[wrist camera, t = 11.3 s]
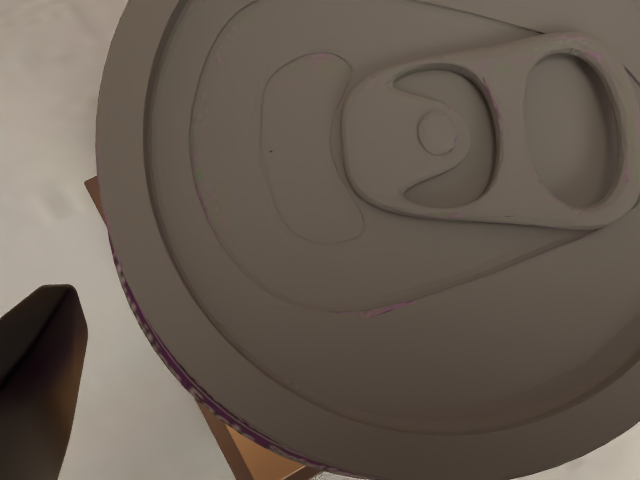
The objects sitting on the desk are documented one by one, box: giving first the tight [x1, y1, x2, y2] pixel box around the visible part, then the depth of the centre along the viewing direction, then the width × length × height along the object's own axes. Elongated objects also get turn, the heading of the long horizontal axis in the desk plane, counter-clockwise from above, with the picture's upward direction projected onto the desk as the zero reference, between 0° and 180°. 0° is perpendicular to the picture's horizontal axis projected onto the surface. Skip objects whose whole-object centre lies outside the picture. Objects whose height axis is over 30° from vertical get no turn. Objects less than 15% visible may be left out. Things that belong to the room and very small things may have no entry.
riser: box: [84, 176, 324, 480], centre depth 19 cm, size 11×11×3 cm
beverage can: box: [95, 0, 640, 480], centre depth 11 cm, size 7×7×12 cm
